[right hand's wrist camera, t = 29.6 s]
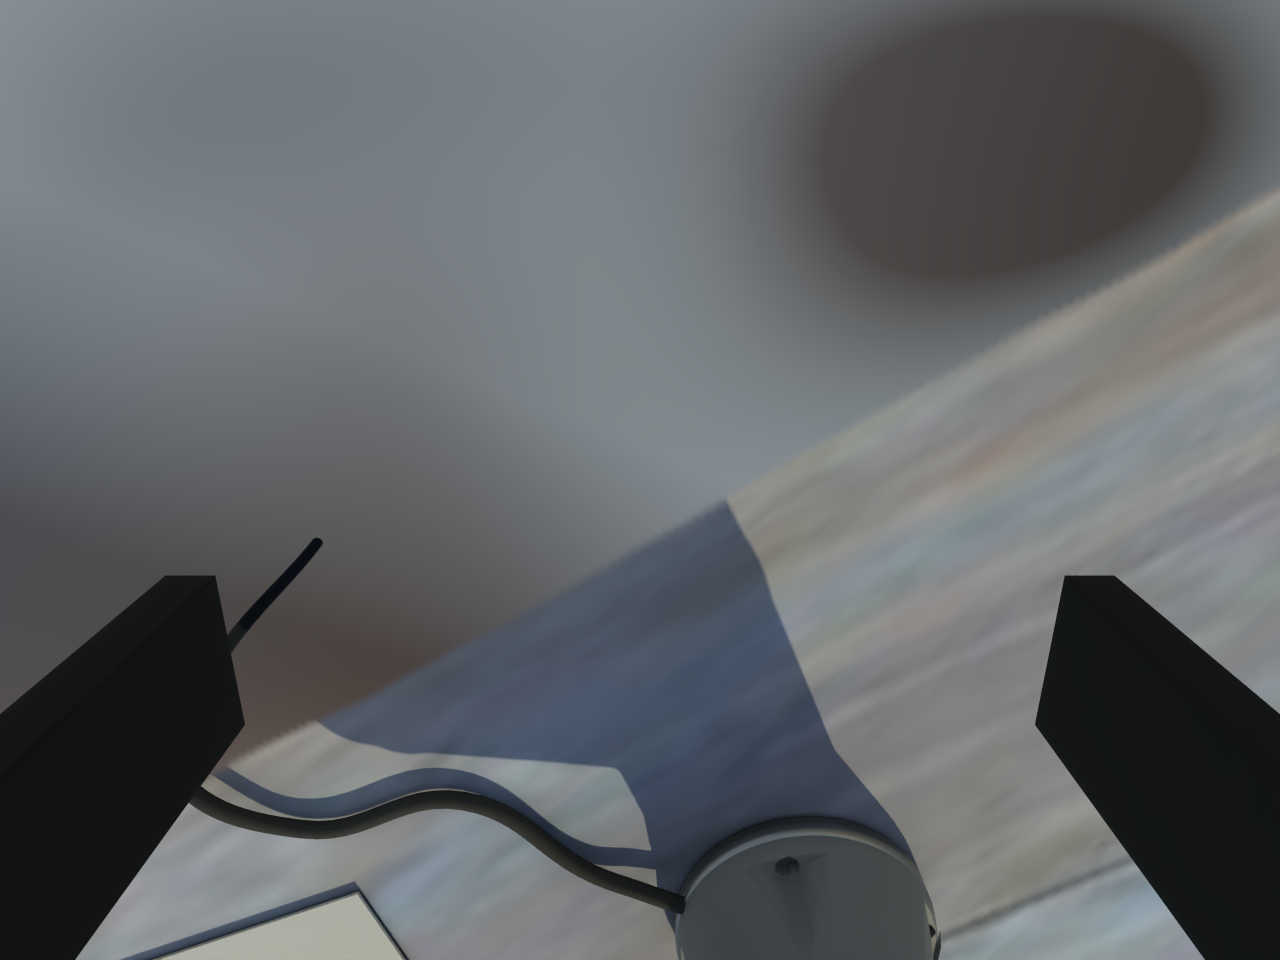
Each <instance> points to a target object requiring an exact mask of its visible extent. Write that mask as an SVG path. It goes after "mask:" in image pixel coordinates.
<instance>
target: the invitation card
mask: <svg viewBox="0 0 1280 960" xmlns="http://www.w3.org/2000/svg"><path fill="white" fill-rule="evenodd" d="M153 960H406V959H405V958H404V956H403V955H402V954H401V952H400V951H399V949H398V948H397V946H396V945H395V943H394V942H393V941H392V939H391V938H390V936H389V935H388V933H387V932H386V930H385V929H384V928H383V926H382V925H381V923H380V922H379V920H378V919H377V918H376V916H375V915H374V913H373V912H372V910H371V909H370V907H369V906H368V905H367V903H366V902H365V900H364V899H363V897H362V896H361V894H360V893H359V892H355V893H352V894H349V895H346V896H343V897H340V898H337V899H334V900H331V901H328V902H325V903H322V904H319V905H316V906H313V907H310V908H307V909H304V910H301V911H298V912H295V913H292V914H289V915H286V916H283V917H280V918H277V919H274V920H271V921H268V922H265V923H262V924H259V925H256V926H253V927H250V928H247V929H244V930H241V931H238V932H235V933H232V934H228V935H225V936H222V937H219V938H216V939H213V940H210V941H207V942H204V943H201V944H198V945H195V946H192V947H189V948H186V949H183V950H180V951H177V952H174V953H171V954H168V955H165V956H162V957H159V958H156V959H153Z"/></svg>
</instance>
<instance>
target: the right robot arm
mask: <svg viewBox="0 0 1280 960" xmlns="http://www.w3.org/2000/svg"><path fill="white" fill-rule="evenodd" d="M322 544H323V541H322V540H321V539H320V538H314V539H313V540H312V541H311V542H310V543H309V545H308V546H307V547H306V548H305V549H304V551H303V552H302V553H301V554H300V555H299V556H298V557H297V559H296V560H295V561H294V562H293V563H292V564H291V565H290V566H289V567H288V568H287V569H286V570H285V572H284V573H283V574H282V575H281V576H280V577H279V578H278V579H277V580H276V581H275V582H274V583H273V584H272V585H271V586H270V587H269V588H268V589H267V590H266V591H265V592H264V593H263V595H262V596H261V597H260V598H259V599H258V600H257V601H256V602H255V603H254V604H253V605H252V606H251V607H250V609H249V610H248V611H247V612H246V613H245V614H244V615H243V616H242V617H241V619H240V620H239V621H238V622H237V624H236V625H235V626H234V627H233V628H232V629H231V631H230V632H229V633H228V635H227V632H226V627H225V622H224V617H223V612H222V607H221V602H220V597H219V592H218V587H217V582H216V577H215V576H165V577H163V578H162V579H161V580H160V581H159V582H157V583H156V584H155V585H154V586H153V587H151V588H150V589H149V590H148V591H147V592H145V593H144V594H143V595H142V596H141V597H139V598H138V599H137V600H136V601H135V602H134V603H132V604H131V605H130V606H129V607H128V608H126V609H125V610H124V611H123V612H122V613H120V614H119V615H118V616H117V617H116V618H114V619H113V620H112V621H111V622H110V623H108V624H107V625H106V626H105V627H104V628H102V629H101V630H100V631H99V632H98V633H96V634H95V635H94V636H93V637H92V638H91V639H89V640H88V641H87V642H86V643H85V644H83V645H82V646H81V647H80V648H79V649H77V650H76V651H75V652H74V653H73V654H71V655H70V656H69V657H68V658H67V659H66V660H64V661H63V662H62V663H61V664H59V665H58V666H57V667H56V668H55V669H54V670H52V671H51V672H50V673H49V674H48V675H46V676H45V677H44V678H43V679H42V680H40V681H39V682H38V683H37V684H36V685H34V686H33V687H32V688H31V689H30V690H28V691H27V692H26V693H25V694H24V695H22V696H21V697H20V698H19V699H18V700H17V701H15V702H14V703H13V704H12V705H11V706H9V707H8V708H7V709H6V710H5V711H3V712H2V713H1V714H0V960H75V959H76V958H77V956H78V955H79V953H80V952H81V951H82V949H83V948H84V947H85V945H86V944H87V942H88V941H89V940H90V938H91V937H92V936H93V934H94V933H95V931H96V930H97V929H98V927H99V926H100V924H101V923H102V922H103V920H104V919H105V918H106V916H107V915H108V913H109V912H110V911H111V909H112V908H113V906H114V905H115V904H116V902H117V901H118V900H119V898H120V897H121V895H122V894H123V893H124V891H125V890H126V888H127V887H128V886H129V884H130V883H131V882H132V880H133V879H134V877H135V876H136V875H137V873H138V872H139V871H140V869H141V868H142V866H143V865H144V864H145V862H146V861H147V859H148V858H149V857H150V855H151V854H152V853H153V851H154V850H155V848H156V847H157V846H158V844H159V843H160V841H161V840H162V839H163V837H164V836H165V835H166V833H167V832H168V830H169V829H170V828H171V826H172V825H173V823H174V822H175V821H176V819H177V818H178V817H179V815H180V814H181V812H182V811H183V810H184V808H185V807H186V806H187V804H188V803H190V804H191V805H192V806H194V807H195V808H197V809H198V810H200V811H202V812H203V813H205V814H207V815H209V816H211V817H213V818H215V819H218V820H220V821H223V822H225V823H228V824H231V825H234V826H237V827H241V828H245V829H248V830H253V831H257V832H262V833H268V834H273V835H280V836H287V837H294V838H304V839H329V838H337V837H342V836H348V835H351V834H355V833H358V832H361V831H364V830H367V829H370V828H373V827H375V826H378V825H380V824H383V823H386V822H388V821H391V820H393V819H396V818H399V817H402V816H405V815H408V814H411V813H415V812H419V811H424V810H431V809H456V810H464V811H468V812H473V813H477V814H480V815H483V816H486V817H489V818H491V819H493V820H495V821H498V822H500V823H501V824H503V825H505V826H507V827H509V828H510V829H512V830H513V831H515V832H516V833H518V834H519V835H520V836H522V837H523V838H524V839H526V840H527V841H528V842H530V843H531V844H532V845H533V846H535V847H536V848H537V849H539V850H540V851H541V852H542V853H544V854H545V855H546V856H548V857H549V858H550V859H552V860H553V861H554V862H556V863H557V864H559V865H560V866H562V867H563V868H565V869H566V870H568V871H570V872H571V873H573V874H575V875H576V876H578V877H580V878H582V879H584V880H586V881H588V882H590V883H592V884H595V885H597V886H599V887H602V888H605V889H607V890H610V891H613V892H616V893H619V894H622V895H625V896H628V897H631V898H634V899H637V900H640V901H643V902H646V903H648V904H651V905H654V906H657V907H660V908H663V909H666V910H669V911H672V912H675V938H676V948H677V953H678V957H679V960H938V958H939V953H940V949H941V937H940V933H939V938H938V942H937V926H936V920H935V916H934V910H933V906H932V902H931V900H930V897H929V894H928V892H927V889H926V887H925V885H924V882H923V880H922V877H921V875H920V873H919V871H918V869H917V867H916V866H915V864H914V863H913V862H912V860H911V859H910V858H909V857H908V856H907V854H906V853H905V852H904V851H903V850H902V849H901V848H899V847H898V846H897V845H896V844H895V843H893V842H892V841H891V840H889V839H888V838H886V837H885V836H883V835H881V834H879V833H877V832H876V831H873V830H871V829H869V828H867V827H864V826H861V825H858V824H855V823H852V822H848V821H844V820H838V819H832V818H823V817H796V818H787V819H780V820H775V821H771V822H767V823H763V824H760V825H757V826H754V827H751V828H748V829H746V830H744V831H741V832H739V833H737V834H735V835H733V836H731V837H729V838H728V839H726V840H725V841H723V842H721V843H720V844H718V845H717V846H716V847H714V848H713V849H712V850H710V851H709V852H708V853H707V854H706V855H705V856H704V857H703V858H702V859H701V860H700V861H699V862H698V863H697V864H696V865H695V866H694V868H693V869H692V871H691V872H690V873H689V875H688V876H687V878H686V880H685V882H684V883H683V885H682V888H681V890H680V892H679V895H678V894H675V893H672V892H669V891H667V890H664V889H661V888H658V887H655V886H652V885H649V884H646V883H644V882H641V881H638V880H635V879H632V878H629V877H626V876H622V875H619V874H616V873H614V872H611V871H608V870H606V869H603V868H601V867H599V866H596V865H594V864H593V863H591V862H589V861H587V860H585V859H583V858H581V857H580V856H578V855H576V854H575V853H573V852H572V851H570V850H569V849H567V848H566V847H564V846H563V845H562V844H560V843H559V842H558V841H557V840H555V839H554V838H553V837H551V836H550V835H549V834H548V833H546V832H545V831H544V830H543V829H541V828H540V827H539V826H538V825H536V824H535V823H534V822H532V821H531V820H530V819H528V818H527V817H525V816H524V815H522V814H521V813H519V812H518V811H516V810H514V809H512V808H511V807H509V806H507V805H505V804H503V803H501V802H498V801H496V800H493V799H490V798H487V797H484V796H481V795H477V794H472V793H468V792H461V791H451V790H442V791H428V792H422V793H417V794H413V795H409V796H405V797H402V798H399V799H397V800H394V801H391V802H388V803H386V804H383V805H381V806H378V807H376V808H373V809H370V810H368V811H365V812H362V813H359V814H357V815H353V816H350V817H346V818H341V819H336V820H327V821H310V820H299V819H292V818H285V817H279V816H273V815H268V814H263V813H259V812H255V811H251V810H248V809H244V808H241V807H238V806H236V805H233V804H231V803H228V802H226V801H224V800H222V799H220V798H218V797H216V796H214V795H213V794H211V793H210V792H208V791H207V790H205V789H204V788H203V787H201V785H202V783H203V782H204V781H205V779H206V778H207V776H208V775H209V774H210V772H211V771H212V770H213V768H214V767H215V765H216V764H217V763H218V761H219V760H220V758H221V757H222V756H223V754H224V753H225V752H226V750H227V749H228V747H229V746H230V745H231V743H232V742H233V740H234V739H235V738H236V736H237V735H238V734H239V732H240V731H241V729H242V728H243V727H244V725H245V722H244V717H243V712H242V707H241V702H240V697H239V692H238V687H237V682H236V677H235V672H234V667H233V662H232V657H231V653H232V652H233V650H234V649H235V647H236V646H237V645H238V643H239V642H240V641H241V639H242V638H243V637H244V635H245V634H246V633H247V632H248V630H249V629H250V628H251V627H252V626H253V624H254V623H255V622H256V621H257V620H258V618H259V617H260V616H261V615H262V614H263V613H264V612H265V610H266V609H267V608H268V607H269V606H270V605H271V604H272V603H273V602H274V600H275V599H276V598H277V597H278V596H279V595H280V594H281V593H282V592H283V591H284V590H285V588H286V587H287V586H288V585H289V584H290V583H291V582H292V581H293V580H294V579H295V577H296V576H297V575H298V574H299V573H300V572H301V571H302V570H303V568H304V567H305V566H306V565H307V564H308V562H309V561H310V560H311V559H312V558H313V556H314V555H315V554H316V553H317V551H318V550H319V549H320V547H321V546H322ZM1035 725H1036V727H1037V728H1038V729H1039V731H1040V732H1041V734H1042V735H1043V736H1044V738H1045V739H1046V740H1047V742H1048V743H1049V745H1050V746H1051V747H1052V749H1053V750H1054V752H1055V753H1056V754H1057V756H1058V757H1059V758H1060V760H1061V761H1062V763H1063V764H1064V765H1065V767H1066V768H1067V770H1068V771H1069V772H1070V774H1071V775H1072V776H1073V778H1074V779H1075V781H1076V782H1077V783H1078V785H1079V786H1080V788H1081V789H1082V790H1083V792H1084V793H1085V794H1086V796H1087V797H1088V799H1089V800H1090V801H1091V803H1092V804H1093V806H1094V807H1095V808H1096V810H1097V811H1098V812H1099V814H1100V815H1101V817H1102V818H1103V819H1104V821H1105V822H1106V823H1107V825H1108V826H1109V828H1110V829H1111V830H1112V832H1113V833H1114V835H1115V836H1116V837H1117V839H1118V840H1119V841H1120V843H1121V844H1122V846H1123V847H1124V848H1125V850H1126V851H1127V853H1128V854H1129V855H1130V857H1131V858H1132V859H1133V861H1134V862H1135V864H1136V865H1137V866H1138V868H1139V869H1140V871H1141V872H1142V873H1143V875H1144V876H1145V877H1146V879H1147V880H1148V882H1149V883H1150V884H1151V886H1152V887H1153V888H1154V890H1155V891H1156V893H1157V894H1158V895H1159V897H1160V898H1161V900H1162V901H1163V902H1164V904H1165V905H1166V906H1167V908H1168V909H1169V911H1170V912H1171V913H1172V915H1173V916H1174V918H1175V919H1176V920H1177V922H1178V923H1179V924H1180V926H1181V927H1182V929H1183V930H1184V931H1185V933H1186V934H1187V936H1188V937H1189V938H1190V940H1191V941H1192V942H1193V944H1194V945H1195V947H1196V948H1197V949H1198V951H1199V952H1200V953H1201V955H1202V956H1203V958H1204V959H1205V960H1280V714H1279V713H1278V712H1277V711H1275V710H1274V709H1273V708H1272V707H1271V706H1269V705H1268V704H1267V703H1266V702H1265V701H1263V700H1262V699H1261V698H1260V697H1259V696H1258V695H1256V694H1255V693H1254V692H1253V691H1252V690H1250V689H1249V688H1248V687H1247V686H1246V685H1244V684H1243V683H1242V682H1241V681H1240V680H1238V679H1237V678H1236V677H1235V676H1234V675H1232V674H1231V673H1230V672H1229V671H1228V670H1226V669H1225V668H1224V667H1223V666H1222V665H1221V664H1219V663H1218V662H1217V661H1216V660H1215V659H1213V658H1212V657H1211V656H1210V655H1209V654H1207V653H1206V652H1205V651H1204V650H1203V649H1201V648H1200V647H1199V646H1198V645H1197V644H1195V643H1194V642H1193V641H1192V640H1191V639H1189V638H1188V637H1187V636H1186V635H1185V634H1184V633H1182V632H1181V631H1180V630H1179V629H1178V628H1176V627H1175V626H1174V625H1173V624H1172V623H1170V622H1169V621H1168V620H1167V619H1166V618H1164V617H1163V616H1162V615H1161V614H1160V613H1158V612H1157V611H1156V610H1155V609H1154V608H1152V607H1151V606H1150V605H1149V604H1148V603H1146V602H1145V601H1144V600H1143V599H1142V598H1141V597H1139V596H1138V595H1137V594H1136V593H1135V592H1133V591H1132V590H1131V589H1130V588H1129V587H1127V586H1126V585H1125V584H1124V583H1123V582H1121V581H1120V580H1119V579H1118V578H1117V577H1115V576H1065V577H1064V582H1063V587H1062V592H1061V597H1060V602H1059V607H1058V612H1057V617H1056V622H1055V627H1054V632H1053V637H1052V642H1051V647H1050V652H1049V657H1048V662H1047V667H1046V672H1045V677H1044V682H1043V687H1042V692H1041V697H1040V702H1039V707H1038V712H1037V717H1036V722H1035Z"/></svg>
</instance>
